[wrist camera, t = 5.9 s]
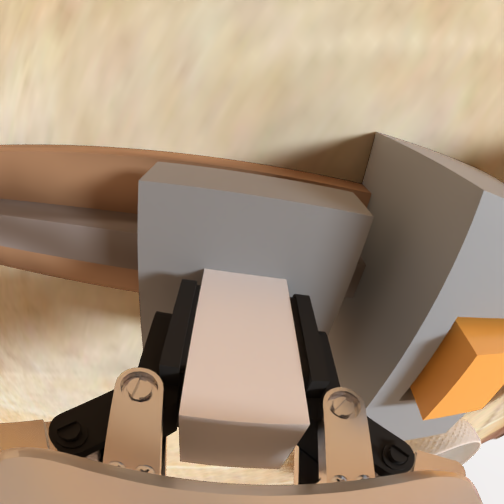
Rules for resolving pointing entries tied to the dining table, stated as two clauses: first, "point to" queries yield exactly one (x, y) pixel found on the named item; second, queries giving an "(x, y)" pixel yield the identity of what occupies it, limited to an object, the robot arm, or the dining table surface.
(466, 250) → the grey button housing
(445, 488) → the robot arm
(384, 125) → the dining table surface
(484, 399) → the button
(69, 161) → the rail track
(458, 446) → the cereal bowl
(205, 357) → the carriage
